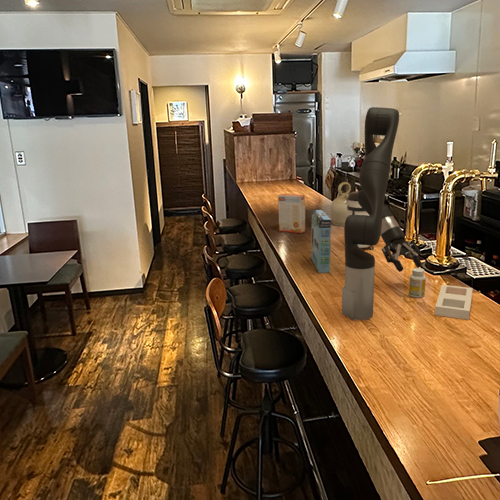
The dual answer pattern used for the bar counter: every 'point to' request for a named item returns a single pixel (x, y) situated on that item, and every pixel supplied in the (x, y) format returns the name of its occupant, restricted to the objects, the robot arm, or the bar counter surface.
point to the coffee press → (356, 210)
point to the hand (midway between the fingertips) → (410, 268)
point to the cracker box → (291, 213)
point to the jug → (340, 206)
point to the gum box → (321, 241)
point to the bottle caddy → (454, 302)
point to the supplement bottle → (417, 283)
